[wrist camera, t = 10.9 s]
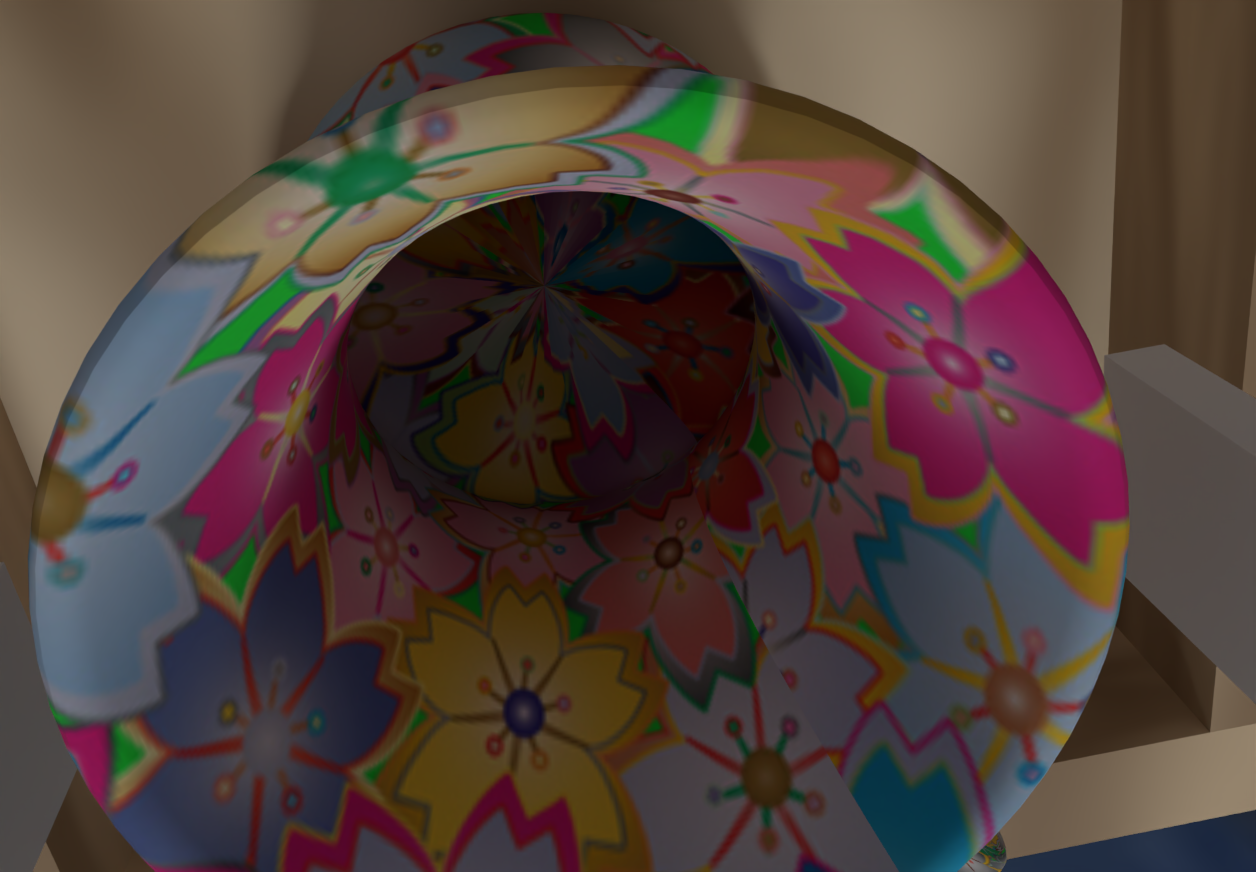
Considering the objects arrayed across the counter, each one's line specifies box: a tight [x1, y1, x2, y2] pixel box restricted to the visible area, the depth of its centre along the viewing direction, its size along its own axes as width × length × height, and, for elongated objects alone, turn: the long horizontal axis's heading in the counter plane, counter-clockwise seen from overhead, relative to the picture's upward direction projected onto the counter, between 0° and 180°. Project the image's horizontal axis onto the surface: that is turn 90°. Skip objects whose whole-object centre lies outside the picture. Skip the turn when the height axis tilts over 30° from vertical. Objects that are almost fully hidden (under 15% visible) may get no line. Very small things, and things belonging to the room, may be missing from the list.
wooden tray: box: [0, 0, 1256, 872], centre depth 19 cm, size 22×19×5 cm
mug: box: [28, 13, 1130, 872], centre depth 15 cm, size 12×9×11 cm
